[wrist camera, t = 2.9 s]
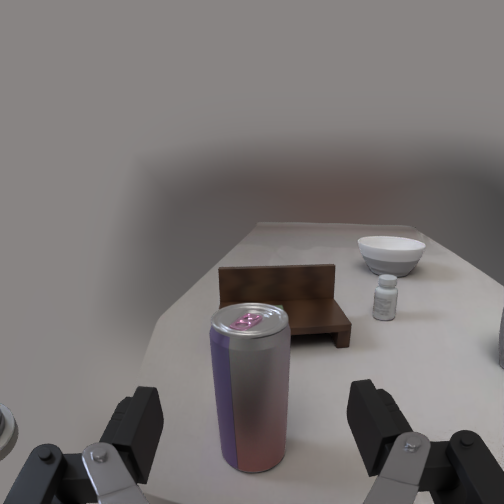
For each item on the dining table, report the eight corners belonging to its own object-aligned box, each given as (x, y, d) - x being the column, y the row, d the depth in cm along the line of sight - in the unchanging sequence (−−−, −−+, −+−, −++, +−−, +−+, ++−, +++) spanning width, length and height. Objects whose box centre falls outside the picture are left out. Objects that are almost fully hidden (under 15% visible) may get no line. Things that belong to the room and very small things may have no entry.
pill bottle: (383, 309, 59) (387, 272, 57) (399, 317, 55) (404, 277, 53) (367, 315, 57) (371, 275, 55) (384, 323, 53) (389, 282, 51)
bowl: (343, 266, 91) (344, 237, 89) (396, 260, 95) (397, 234, 93) (381, 286, 72) (384, 252, 70) (436, 277, 76) (440, 247, 74)
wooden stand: (216, 353, 46) (212, 290, 44) (221, 320, 58) (218, 267, 55) (349, 347, 46) (355, 285, 44) (330, 316, 58) (333, 263, 56)
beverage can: (210, 461, 25) (191, 324, 22) (242, 426, 30) (235, 297, 27) (267, 484, 23) (269, 343, 19) (294, 443, 28) (302, 308, 24)
